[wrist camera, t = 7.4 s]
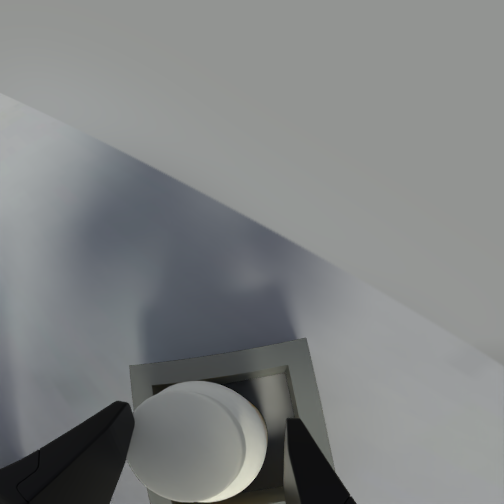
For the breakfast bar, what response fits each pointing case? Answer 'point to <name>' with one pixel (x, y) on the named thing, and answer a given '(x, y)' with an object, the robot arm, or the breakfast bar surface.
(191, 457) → the supplement bottle
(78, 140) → the breakfast bar surface
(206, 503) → the grey square frame
